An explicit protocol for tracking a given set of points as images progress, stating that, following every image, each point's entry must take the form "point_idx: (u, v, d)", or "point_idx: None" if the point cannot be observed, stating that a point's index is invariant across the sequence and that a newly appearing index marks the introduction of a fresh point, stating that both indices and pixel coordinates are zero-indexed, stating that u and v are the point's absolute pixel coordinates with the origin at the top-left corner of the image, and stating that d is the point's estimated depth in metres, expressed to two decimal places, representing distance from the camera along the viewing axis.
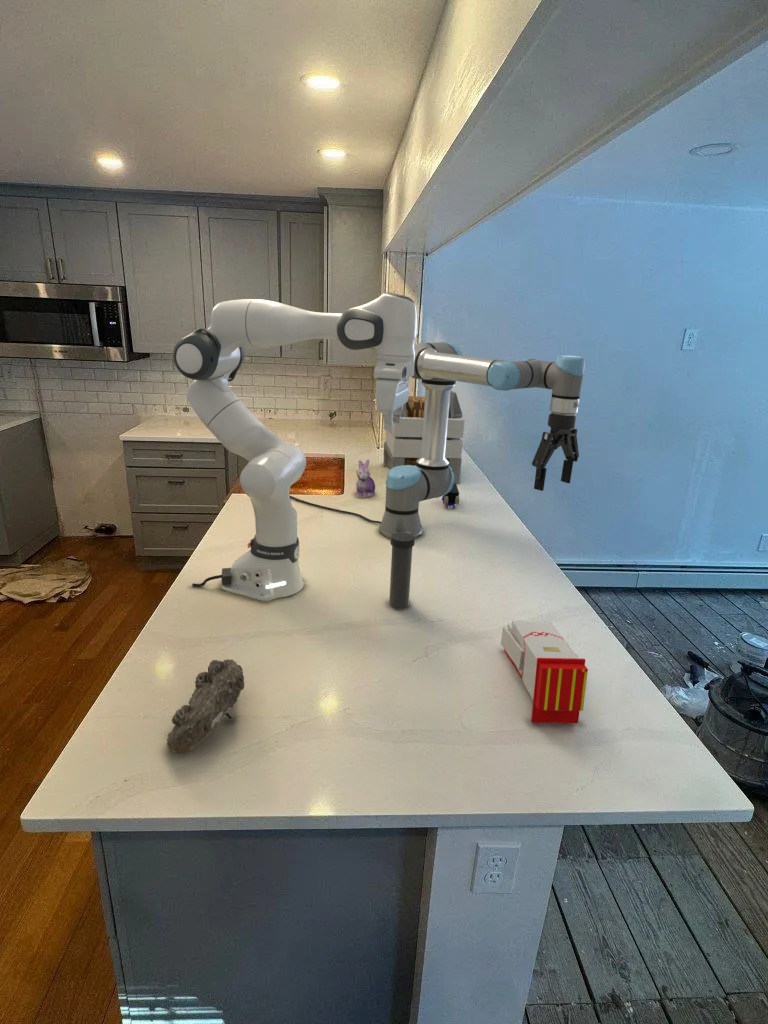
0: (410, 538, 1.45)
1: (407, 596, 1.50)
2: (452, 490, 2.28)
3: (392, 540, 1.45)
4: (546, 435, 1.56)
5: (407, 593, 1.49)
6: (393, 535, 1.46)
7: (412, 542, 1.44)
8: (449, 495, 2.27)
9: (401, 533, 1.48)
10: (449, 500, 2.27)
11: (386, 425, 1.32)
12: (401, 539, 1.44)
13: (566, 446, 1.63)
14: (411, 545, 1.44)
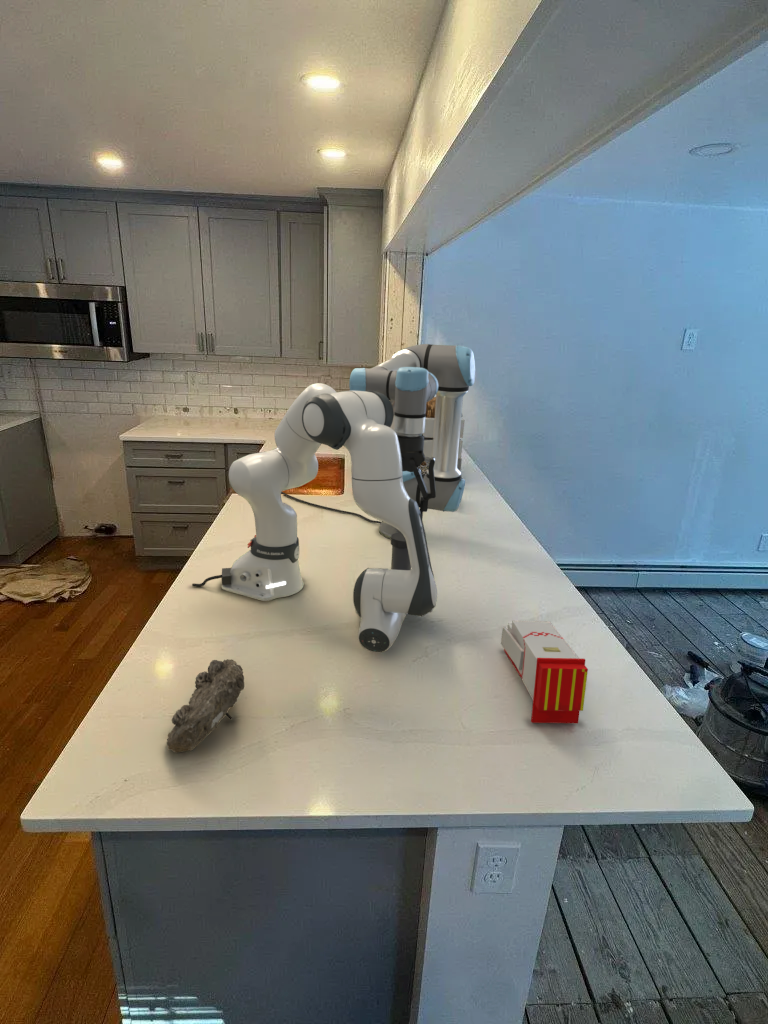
0: None
1: None
2: None
3: (392, 540, 1.45)
4: None
5: None
6: (393, 535, 1.46)
7: None
8: None
9: (401, 533, 1.48)
10: None
11: None
12: (401, 539, 1.44)
13: None
14: None
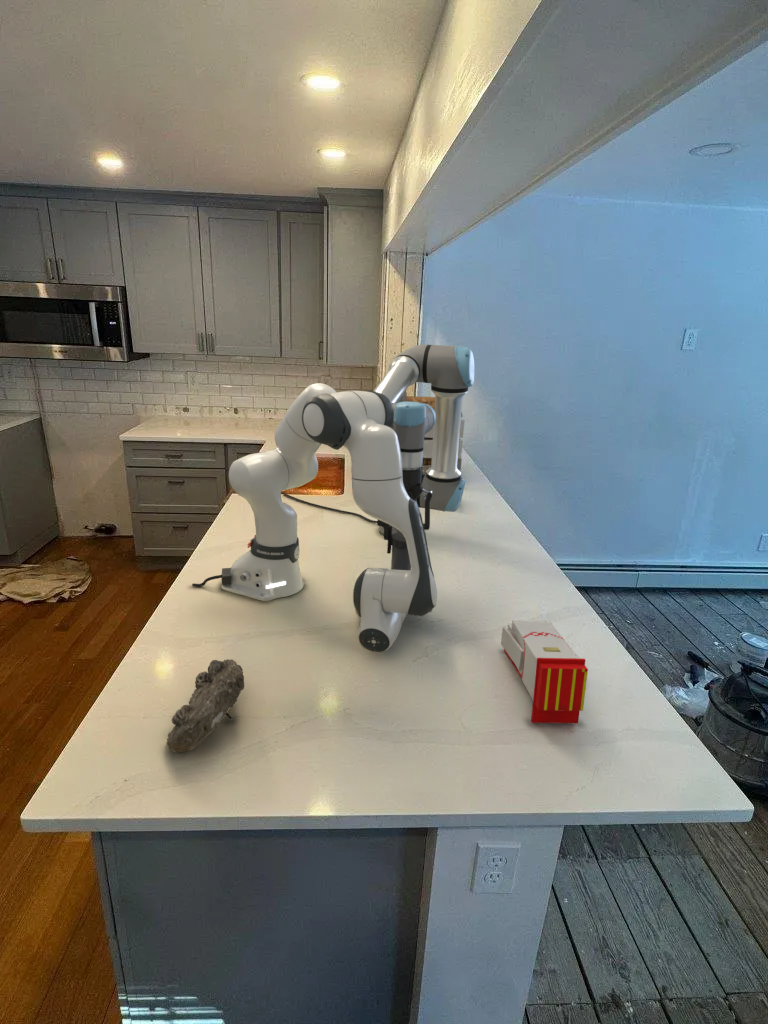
0: None
1: None
2: None
3: (392, 540, 1.45)
4: None
5: None
6: (393, 535, 1.46)
7: None
8: None
9: (401, 533, 1.48)
10: None
11: None
12: (401, 539, 1.44)
13: None
14: None
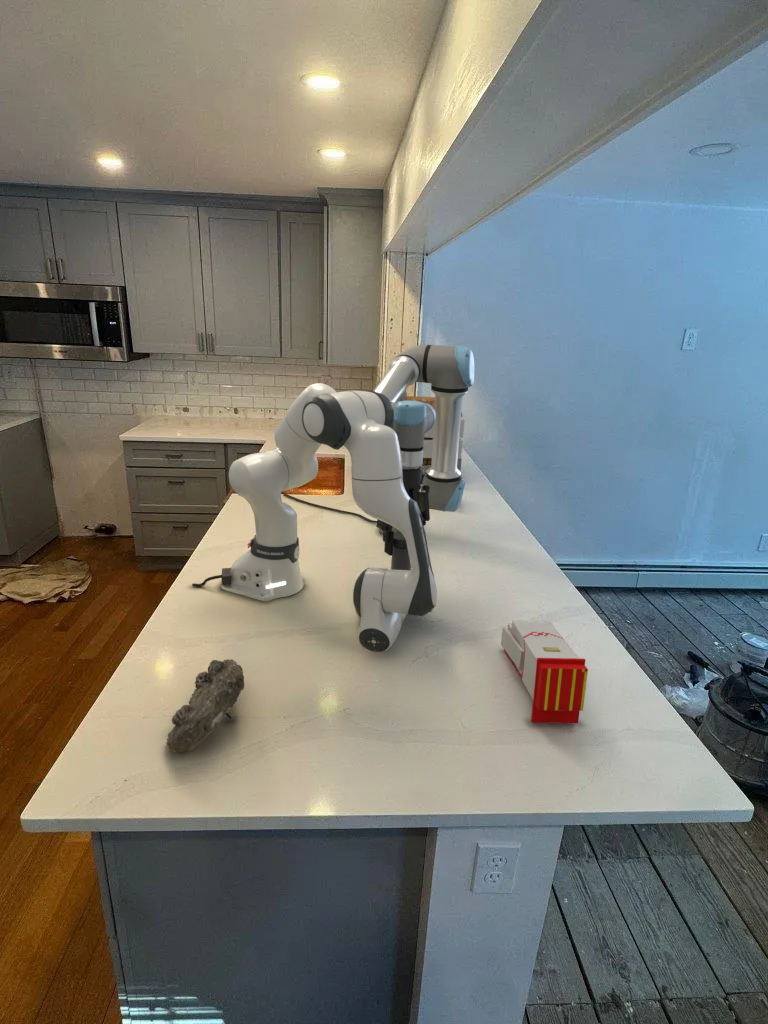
0: None
1: None
2: None
3: None
4: None
5: None
6: (402, 539, 1.43)
7: None
8: None
9: (394, 536, 1.45)
10: None
11: None
12: None
13: None
14: None
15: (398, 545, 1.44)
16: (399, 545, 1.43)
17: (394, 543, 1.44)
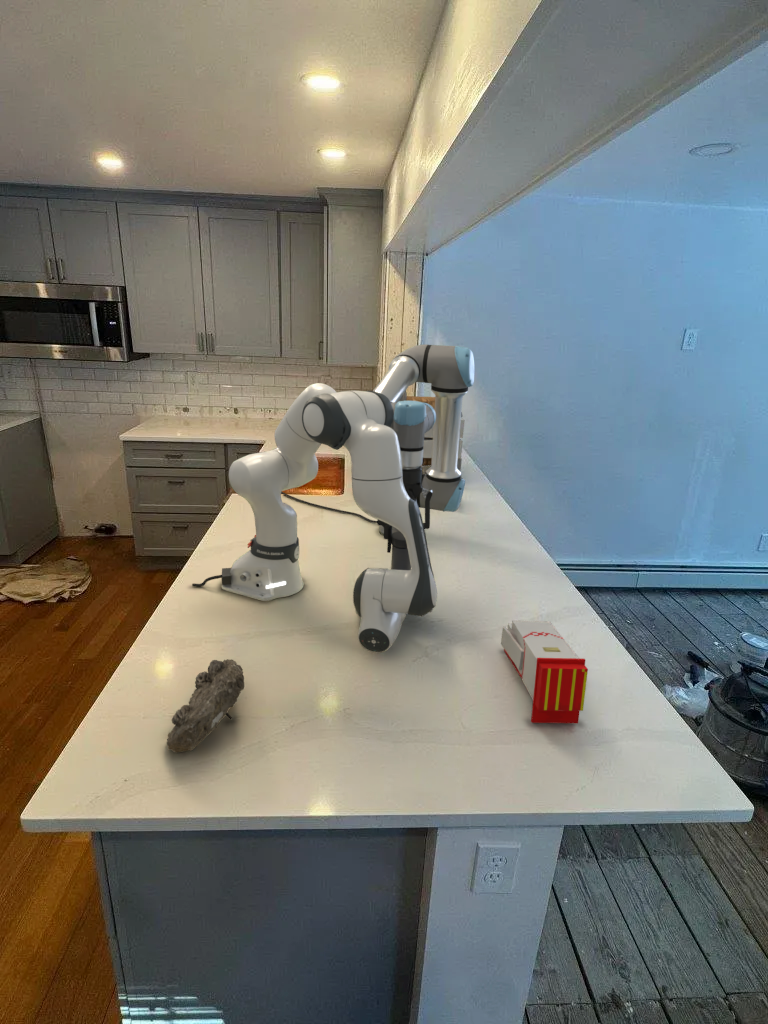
0: None
1: None
2: None
3: None
4: None
5: None
6: (402, 539, 1.43)
7: None
8: None
9: (394, 536, 1.45)
10: None
11: None
12: None
13: None
14: None
15: (398, 545, 1.44)
16: (399, 545, 1.43)
17: (394, 543, 1.44)
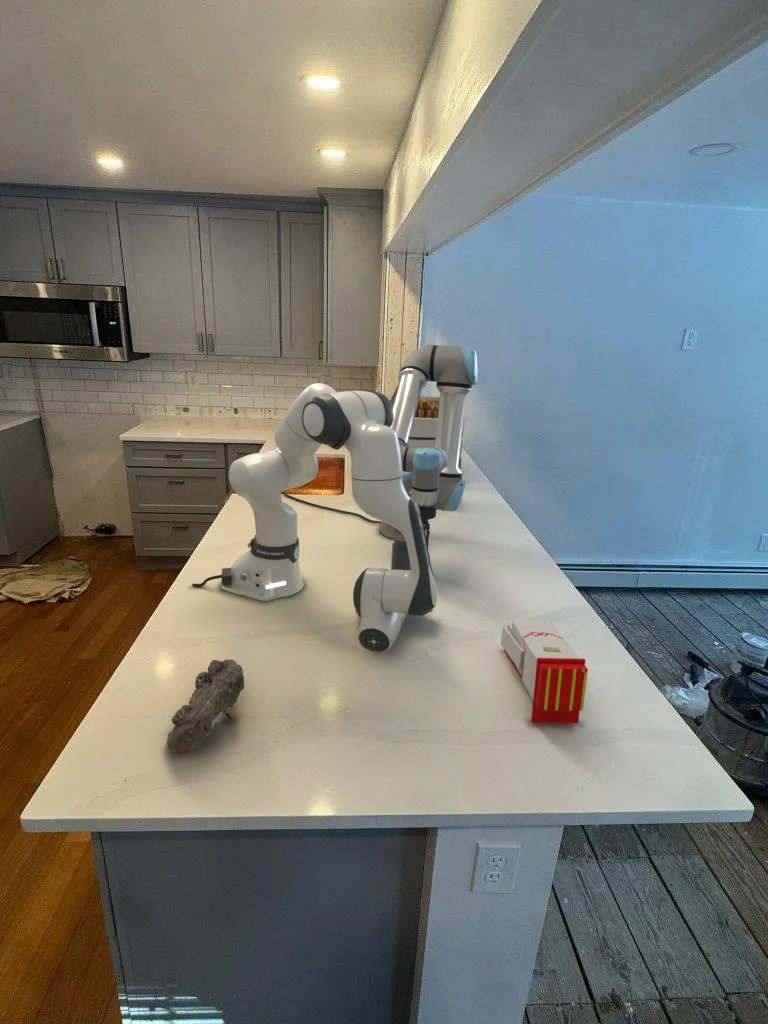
0: None
1: None
2: None
3: None
4: None
5: None
6: None
7: None
8: None
9: None
10: None
11: None
12: None
13: None
14: None
15: None
16: None
17: None
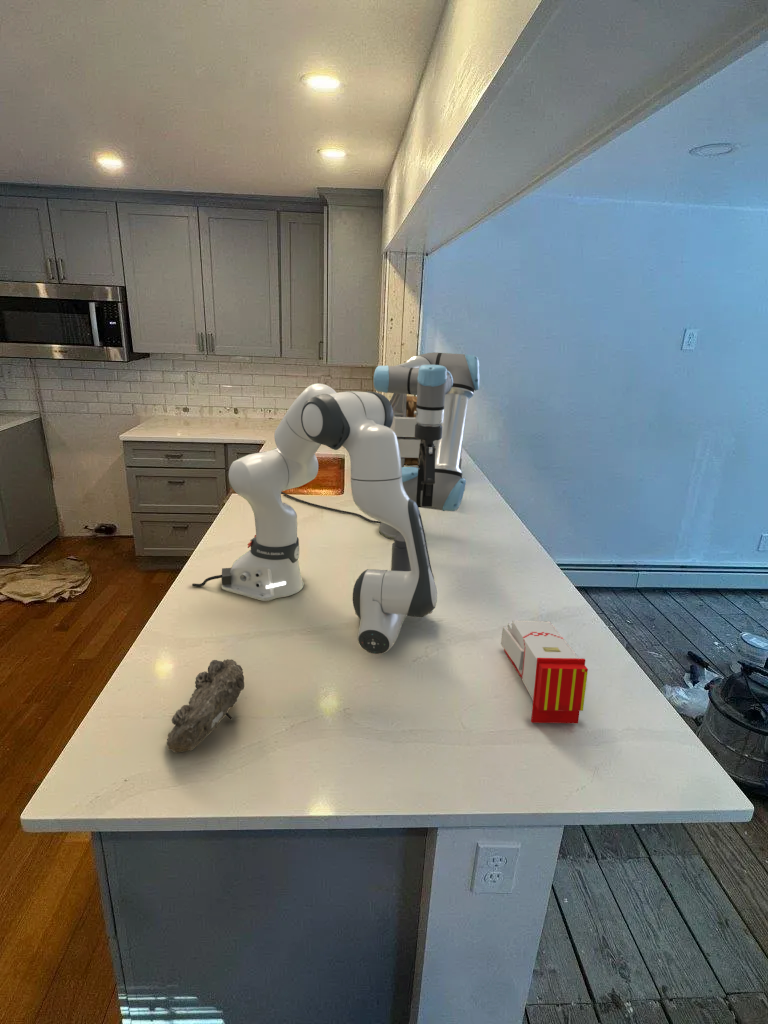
0: None
1: None
2: None
3: None
4: None
5: None
6: None
7: None
8: None
9: None
10: None
11: None
12: None
13: None
14: None
15: None
16: None
17: None
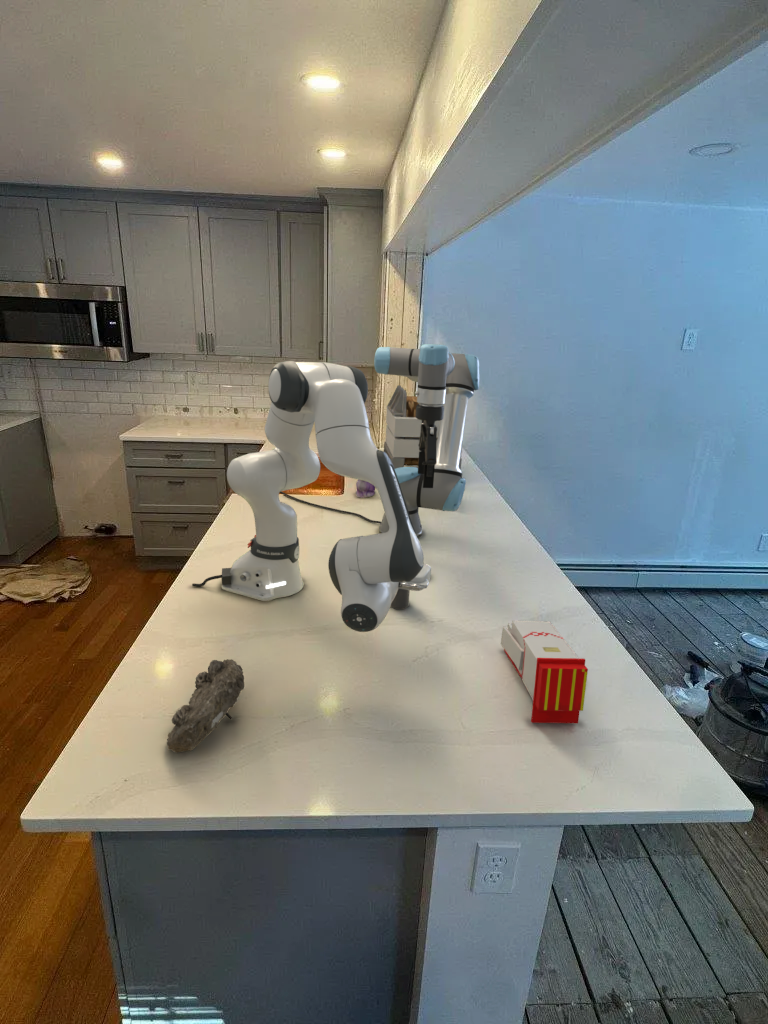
0: None
1: (407, 596, 1.50)
2: None
3: None
4: None
5: (407, 593, 1.49)
6: None
7: None
8: None
9: None
10: None
11: None
12: None
13: None
14: None
15: None
16: None
17: None
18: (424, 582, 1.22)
